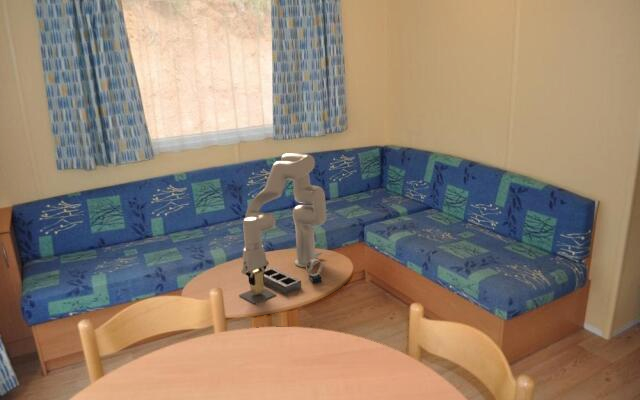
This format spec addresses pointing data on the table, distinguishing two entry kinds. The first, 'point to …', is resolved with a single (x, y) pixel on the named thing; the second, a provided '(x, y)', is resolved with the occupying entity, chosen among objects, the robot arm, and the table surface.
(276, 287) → the grey compartment tray
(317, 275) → the watch
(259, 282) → the tan rectangular block
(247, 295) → the mat
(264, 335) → the table surface
